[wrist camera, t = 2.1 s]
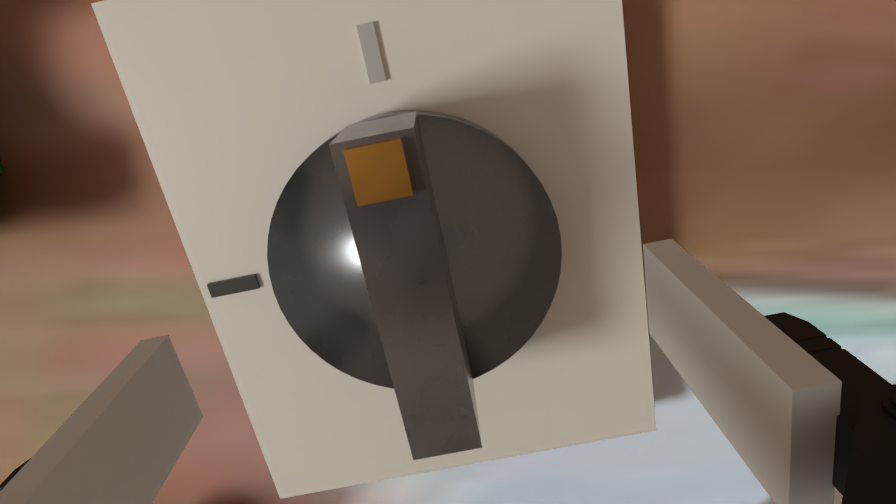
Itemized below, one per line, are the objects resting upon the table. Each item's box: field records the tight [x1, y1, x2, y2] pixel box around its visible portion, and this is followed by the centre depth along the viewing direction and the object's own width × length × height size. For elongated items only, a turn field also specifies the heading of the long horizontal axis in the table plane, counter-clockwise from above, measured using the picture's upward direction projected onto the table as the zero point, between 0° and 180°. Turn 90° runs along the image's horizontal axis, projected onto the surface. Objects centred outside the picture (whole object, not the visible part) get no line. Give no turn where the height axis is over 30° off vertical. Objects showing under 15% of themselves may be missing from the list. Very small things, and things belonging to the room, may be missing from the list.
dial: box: [267, 110, 562, 460], centre depth 20 cm, size 11×11×6 cm
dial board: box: [91, 0, 656, 499], centre depth 24 cm, size 22×18×2 cm
